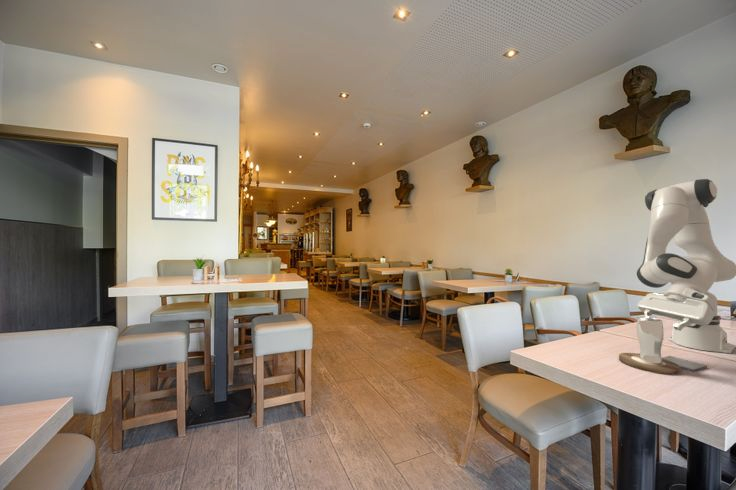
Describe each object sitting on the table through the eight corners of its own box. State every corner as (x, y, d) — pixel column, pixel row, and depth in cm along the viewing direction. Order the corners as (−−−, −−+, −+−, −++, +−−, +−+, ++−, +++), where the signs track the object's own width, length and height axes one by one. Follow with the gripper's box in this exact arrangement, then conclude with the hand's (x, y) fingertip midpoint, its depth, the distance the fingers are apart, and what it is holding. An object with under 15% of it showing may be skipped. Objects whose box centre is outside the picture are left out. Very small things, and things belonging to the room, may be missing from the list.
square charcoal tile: (669, 357, 112) (669, 355, 112) (707, 367, 103) (707, 365, 103) (655, 361, 109) (655, 359, 109) (692, 371, 99) (692, 369, 99)
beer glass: (670, 365, 100) (669, 321, 101) (647, 364, 101) (646, 321, 102) (653, 357, 107) (652, 317, 108) (632, 357, 108) (631, 316, 109)
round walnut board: (633, 354, 116) (633, 350, 116) (690, 370, 101) (690, 365, 101) (609, 359, 110) (609, 355, 110) (665, 377, 95) (665, 372, 95)
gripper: (645, 286, 118) (625, 311, 116) (715, 297, 98) (692, 327, 96) (653, 297, 119) (633, 322, 117) (723, 309, 99) (701, 340, 97)
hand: (660, 324), depth 107 cm, fingers open, 8 cm apart
